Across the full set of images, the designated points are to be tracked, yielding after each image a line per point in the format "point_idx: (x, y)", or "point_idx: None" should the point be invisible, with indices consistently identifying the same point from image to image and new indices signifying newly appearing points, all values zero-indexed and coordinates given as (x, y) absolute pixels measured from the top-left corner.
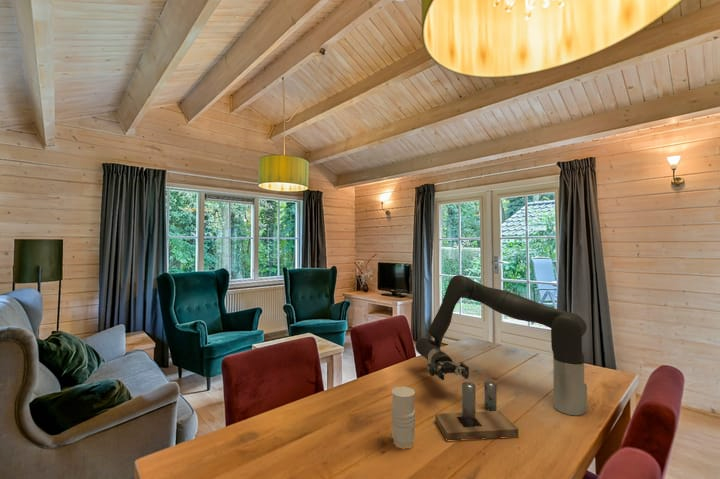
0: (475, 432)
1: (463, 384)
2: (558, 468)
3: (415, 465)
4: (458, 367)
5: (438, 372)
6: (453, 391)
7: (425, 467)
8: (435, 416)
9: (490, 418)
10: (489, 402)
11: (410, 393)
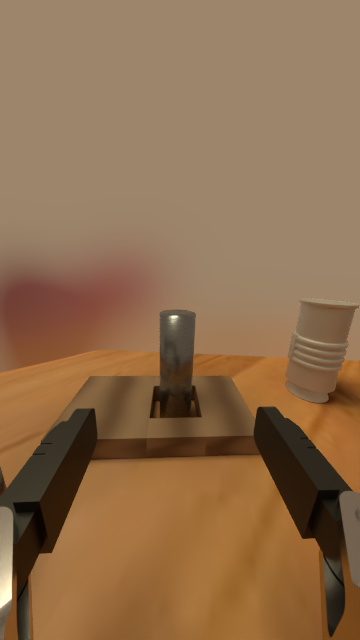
0: None
1: (192, 313)
2: (105, 352)
3: (268, 362)
4: (9, 607)
5: (324, 465)
6: None
7: (255, 359)
8: None
9: (113, 406)
10: None
11: (308, 299)
